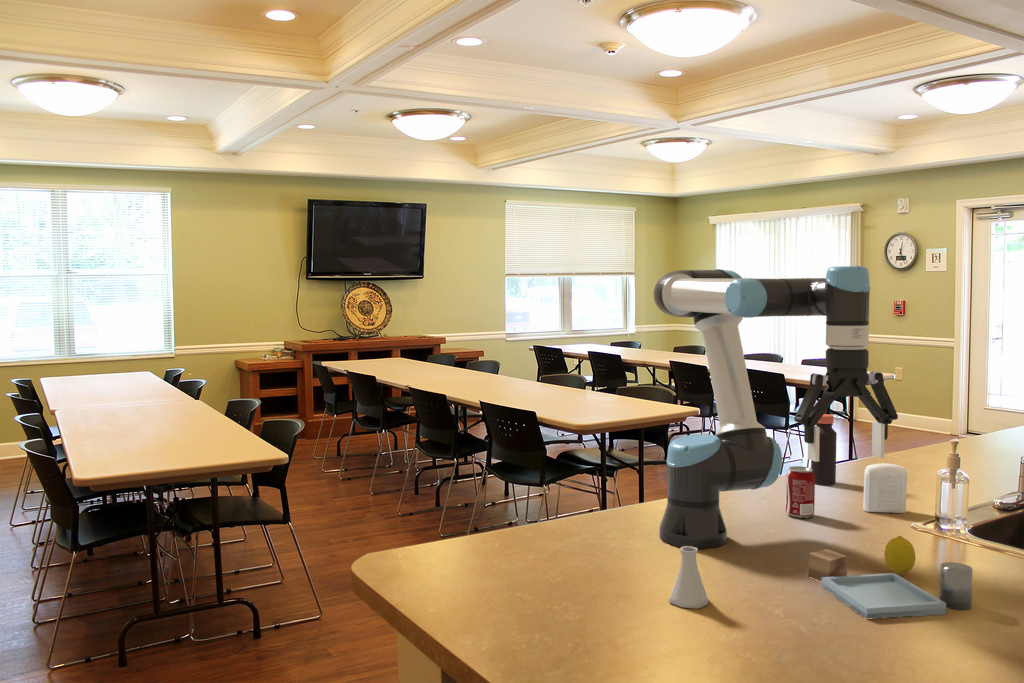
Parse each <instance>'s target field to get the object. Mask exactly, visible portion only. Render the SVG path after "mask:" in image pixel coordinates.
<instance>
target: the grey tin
mask: <svg viewBox="0 0 1024 683" xmlns="http://www.w3.org/2000/svg"><path fill="white" fill-rule="evenodd" d="M973 573H974V571H973V567H971V566H970V565H967V564H964V563H959V562H954V561H953V562H952V561H951V562H950V561H948V562H943V563H941V564H940V581H939V582H940V584H939V591H940V592H939V599H940V600H942V601H944V602H945V603H946V609H950V610H956V611H970V610H971V609H972V605H973V603H972V600H973V598H972V597H973Z"/></svg>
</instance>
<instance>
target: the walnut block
mask: <svg viewBox="0 0 1024 683" xmlns="http://www.w3.org/2000/svg"><path fill="white" fill-rule="evenodd" d="M835 576H848V556H847V555H846V554H845V555H844V554H841V553H839V552H836V551H833V550H830V549H827V548H826V549H822V550H817V551H812V552H809V553H808V578H809V577H812V578H814V579H817V580H819V581H822V577H835ZM814 579H813V580H814ZM819 581H818V582H819Z"/></svg>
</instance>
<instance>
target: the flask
mask: <svg viewBox="0 0 1024 683" xmlns="http://www.w3.org/2000/svg"><path fill="white" fill-rule="evenodd" d="M698 551H699V548H695V547H691V546H684V547H680V553H681V563H680V567H679V568H680V569H679V570H678V573H677V577H676V578H675V583H674V584H673V587H672V590H671V593H670V596H669V601H668V603H669V604H673V605H675V606H678V607H680V608H684V609H685V608H687V609H701V608H703V607H706V606H708V605H709V598H708V594H707V591H706V589H705V586H704V583H703V581H702V578H701V575H700V572H699V569H698V563H697V554H698Z"/></svg>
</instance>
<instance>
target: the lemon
mask: <svg viewBox="0 0 1024 683" xmlns="http://www.w3.org/2000/svg"><path fill="white" fill-rule="evenodd" d="M884 562H885V564H886V566H887V567H888V568H889V569H890V570H891V571H892V572H893V573H895V574H897V575H899V576H900V577H902V575H903V574H906V573H909V572H910V571H911V570H912V569H913V568H914V566H915V564H916V551H915V548H914V546H913V544H912V543H911V542H910V541H909V540H908V539H906V538H904V537H903V536H901V535H898V536H895V537H894V538H891V539H890V540H888V542H887V543H886V546H885V549H884Z"/></svg>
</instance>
